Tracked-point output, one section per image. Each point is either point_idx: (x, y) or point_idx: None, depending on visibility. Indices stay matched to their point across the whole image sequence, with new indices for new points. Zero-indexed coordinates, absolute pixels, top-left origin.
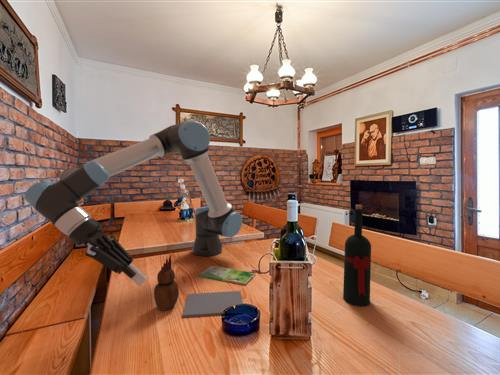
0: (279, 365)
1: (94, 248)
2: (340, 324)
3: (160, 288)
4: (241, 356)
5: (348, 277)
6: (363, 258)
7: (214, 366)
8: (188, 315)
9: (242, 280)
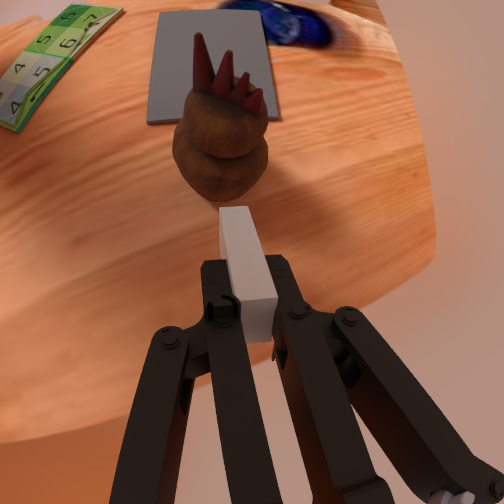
0: (378, 17)
1: (498, 479)
2: None
3: (262, 149)
4: (375, 43)
5: None
6: None
7: (400, 76)
8: (275, 104)
9: (104, 14)
